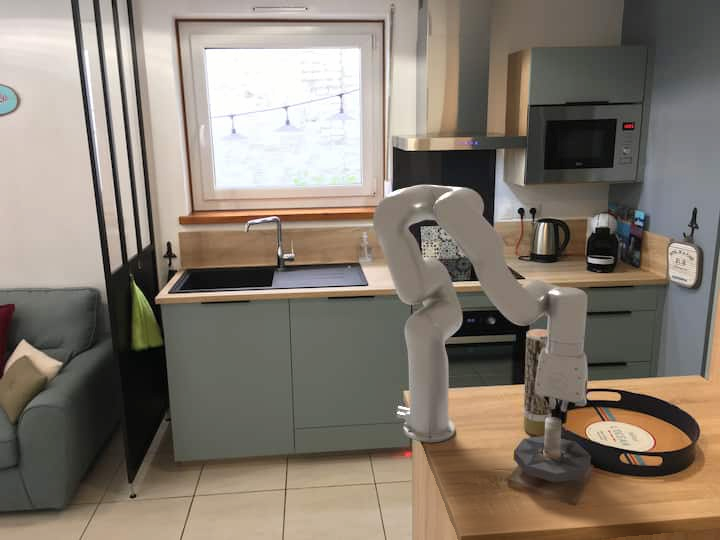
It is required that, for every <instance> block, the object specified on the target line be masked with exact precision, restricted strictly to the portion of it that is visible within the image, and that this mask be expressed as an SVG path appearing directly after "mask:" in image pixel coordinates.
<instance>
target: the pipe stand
mask: <svg viewBox="0 0 720 540" xmlns="http://www.w3.org/2000/svg"><path fill="white" fill-rule="evenodd" d="M561 438H562V426H561V420H560V419H559V418H556V417H548V418H546V419H545V442H544V450H543V456H544V457H547V458H551V459H558V458H561V452H560V443H561ZM593 472H594V465H593V464H590V466H589V468H588V470H587V471H586V473H585V475H584V477H583V478H580V479H574V480H568V481H562V482H552V481H549V480H545V479H542V478H538V477H535V476H531V475H528V474H526V473H525V472H524V471H523V470H522V468H521V467H520V466H519V465H518V464H517V466H516V467H515V468H514V469H513V470H512V472H511V474H509V476H508V477H507V486H509V487H513V488H515V489H519V490H523V491H524V492H525V491H526V492H530V493H532V494H536V495H539V496H543V497H546V498H549V499H553V500H556V501H559V502H563V503H566V504H569V505H573V506H576V505H577V504H578V501H579V499H580V498H581V496H582V493H583V492H584V491H585V488H586V486H587V484H588V483H589V481H590V479H591V476H592V475H593Z"/></svg>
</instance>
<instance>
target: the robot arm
mask: <svg viewBox="0 0 720 540" xmlns="http://www.w3.org/2000/svg"><path fill="white" fill-rule="evenodd" d="M484 209H485V205H484V201H483V198H482V197H481V195H480V194H479V192H477V191H475V190H474V189H472V188H469V187H460V186H459V187H458V186H449V185H448V186H445V185H437V184H436V185H435V184H417V185H413V186H410V187H404V188H401V189H397V190H394V191H392V192H390V193H388V194H387V195H385V196H384V197H383V198H382V199H381V200H380V201H379V203H378V204H377V206H376V207H375V209H374V213H373V216H372V217H373V218H372V224H373V225H372V226H373V232H374V234H375V237H376V240H377V242H378V244H379V247H380V249H381V251H382V254H383V257H384V260H385V263H386V265H387V269H388V272H389V274H390V277H391V280H392V283H393V286H394V289H395V291H396V294H397V296H398V297H399V300H401V301H402V302H403V303H405V304H406V305H410V306H412V305H417V304H420V303H422V305H423V306H422V307H420V308H419V309H417V310H415V311H414V312H413V313H412V314H411V315H410V316H409V317H408V318H407V321H406V322H405V325H404V338H405V339H404V340H405V343H406V349H407V357H408V359H407V360H408V391H409V392H408V393H409V394H408V396H409V397H408V400H409V401H408V402H409V404H408V405H409V407H406V406H401V405H399V406H398V407H397V408H396V418H399V419H403V420H405V422H404V423H403V432H404V434H405V436H407V437H408V438H410V439H412V440H413V441H417V442H422V443H439V442H443V441H446V440H448V439H450V438H451V437H453V436H454V434H455V431H456V425H455V423H454V422H453V421H452V420H450V419H449V414H450V413H449V409H450V408H449V404H450V403H449V387H450V386H449V381H450V380H449V373H450V372H449V359H448V358H449V357H448V354H447V351H446V346H445V345H446V344H445V343H446V340H448V339H449V338H450V337H452V336H453V335H455V333H456V332H457V331H459V329H460V328H461V326H462V324H463V317H464V316H463V311H462V307H461V304H460V301H459V299H458V295H457V293H456V290H455V287H454V284H453V281H452V278H451V275H450V274H449V270H448V269H447V268H446V266H445V265H444V264H443V262H441V261H440V260H439V259H437V258H434V257H430V256H428V257H427V256H426V257H423V255H422V252H421V250H420V246H419V245H420V244H419V243H418V241H417V239H416V238H415V236H414V234H413V233H412V232H411V231H410V229H409V228H410V227H411V226H412V225H414V224H416V223H417V224H418V223H420V222H423V221H435V222H436V223H437V225H438V226H439V227H440V228H441V229H442V230H443V231H444V233H445V234H446V235H447V236H448V237H449V238H450V239H451V241H452V242H453V243H454V244H455V245H456V247H458V248H459V250H460V251H461V252H462V253H463V254H464V255H465V257H466V258H467V259H468V260H469V261H470V263H471V264H472V266H473V268H474V269H473V270H474V272H475V275H476V278H477V280H478V282H479V284H480V287H481V288H482V290H483V292H484V294H485V295H486V297H487V298H488V299H489V300H490V302H491V304H493V306H495V308H496V309H497V310H498V311H499V312H500V313H501V315H503V316H504V318H506V319H507V320H508V321H510V322H511V323H512V324H515V325H517V326H523V327H525V326H530V325H532V324H534V323H535V322H537V321H538V320H539V319H540V318H541V317H544V316H547V327H546V330H547V336H544V337H543V336H541V337H540V342H542V343H544V344H545V347H544V348H543V349H542V351H541V354H540V358H539V362H538V367H537V374H536V381H535V391H536V392H535V394H536V395H538V396H540V397H542V398H545V400H546V401H547V402H548V404H549V405H550V408H551V409H552V411H551V417H556V418H559V419H560V420H561V427H562V426H563V425H564V424H566V423H567V422H568V421H567V420H568V410H570V409H572V408H573V407H574V406H575V407H585V406H586V405H587V403H588V402H587V401H588V400H587V396H586V395H587V393H588V380H589V379H588V378H589V377H588V374H589V372H588V360H587V355H586V352H584V346H585V345H584V344H585V333H586V321H587V310H588V295H587V293H586V292H585V291H584V290H583V289H579V288H577V287H572V286H570V287H569V286H558V285H555V284H553V283H548V282H546V281H543V280H535V279H534V280H532V279H531V280H529V281H526V282H525V283H523V284H522V283H520V282H519V281H518V279H517V278H516V277H515V276H514V275H513V274H512V272H511V270H510V269H509V267H508V265H507V262H506V259H505V244H504V243H505V242H504V238H503V236H502V235H501V234H499V232H498V231H497V230H496V229H495V228H494V227H493V225H491V223H489V221H488V220H487V219H486V218H485V217H484V216H483V214H484ZM560 401H562V402H561V403H560Z"/></svg>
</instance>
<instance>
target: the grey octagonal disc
mask: <svg viewBox="0 0 720 540" xmlns="http://www.w3.org/2000/svg"><path fill="white" fill-rule="evenodd" d="M544 442H545V436H533V437H532V436H531V437H526V438H523V439H521V441H520V443H519V444H518V445H517V446H516V448H515V449H514V450H513V460H514V461H515V463H516V464H517V466H518V465H519V466H520V467H521V468H522V470H523V471H524V472H525V473H526V474H528V475H531V476H535V477H538V478H542V479H545V480H549V481H552V482H562V481H568V480H574V479H580V478H583V477H584V475H585V473H586V471H587V470H588V468H589V466H590V465H591V459H592V456H591V454H590V453H589V452H588V451H586V450H585V448H583V446H581V445H580V444H579V443H577V441H574V440H570V439H565V438H562V437H561V443H560V452H561V458H558V459H551V458H547V457H544V456H543V450H544Z"/></svg>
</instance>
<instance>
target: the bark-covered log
mask: <svg viewBox="0 0 720 540" xmlns="http://www.w3.org/2000/svg"><path fill="white" fill-rule="evenodd" d="M525 336H526V337H525V367H524V369H525V370H524V394H523V395H524V398H523V399H524V401H523V402H524V403H523V404H524V405H523V429H524V431H525V432H526V433H527V434H529V435H532V436H534V437H539V436H545V419H546V418H548V417H551V411H552V409H551V408H550V405H549V404H548V402H547V401H546V400H545V398H542V397H540V396H538V395H536V394H535V392H536V391H535V381H536V374H537V367H538V362H539V358H540V354H541V351H542V349H543V348H544V347H545V344H544V343H542V342H540V337H541V336H543V337H544V336H547V329H545V328H544V329H543V328H533V329H530V330H528V331H526V335H525Z"/></svg>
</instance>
